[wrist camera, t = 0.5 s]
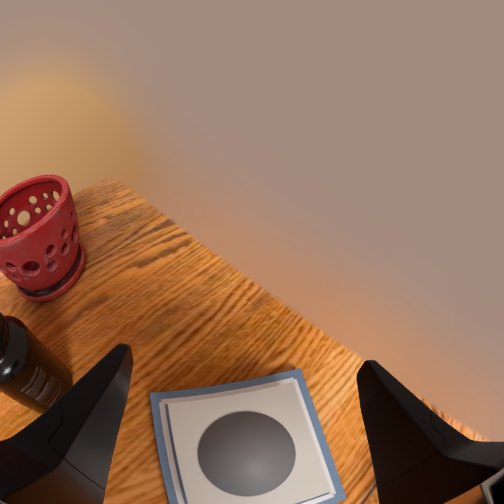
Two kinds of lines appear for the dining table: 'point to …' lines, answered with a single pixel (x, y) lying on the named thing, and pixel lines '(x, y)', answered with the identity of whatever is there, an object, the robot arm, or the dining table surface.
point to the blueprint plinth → (244, 444)
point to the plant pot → (41, 239)
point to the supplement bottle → (29, 367)
